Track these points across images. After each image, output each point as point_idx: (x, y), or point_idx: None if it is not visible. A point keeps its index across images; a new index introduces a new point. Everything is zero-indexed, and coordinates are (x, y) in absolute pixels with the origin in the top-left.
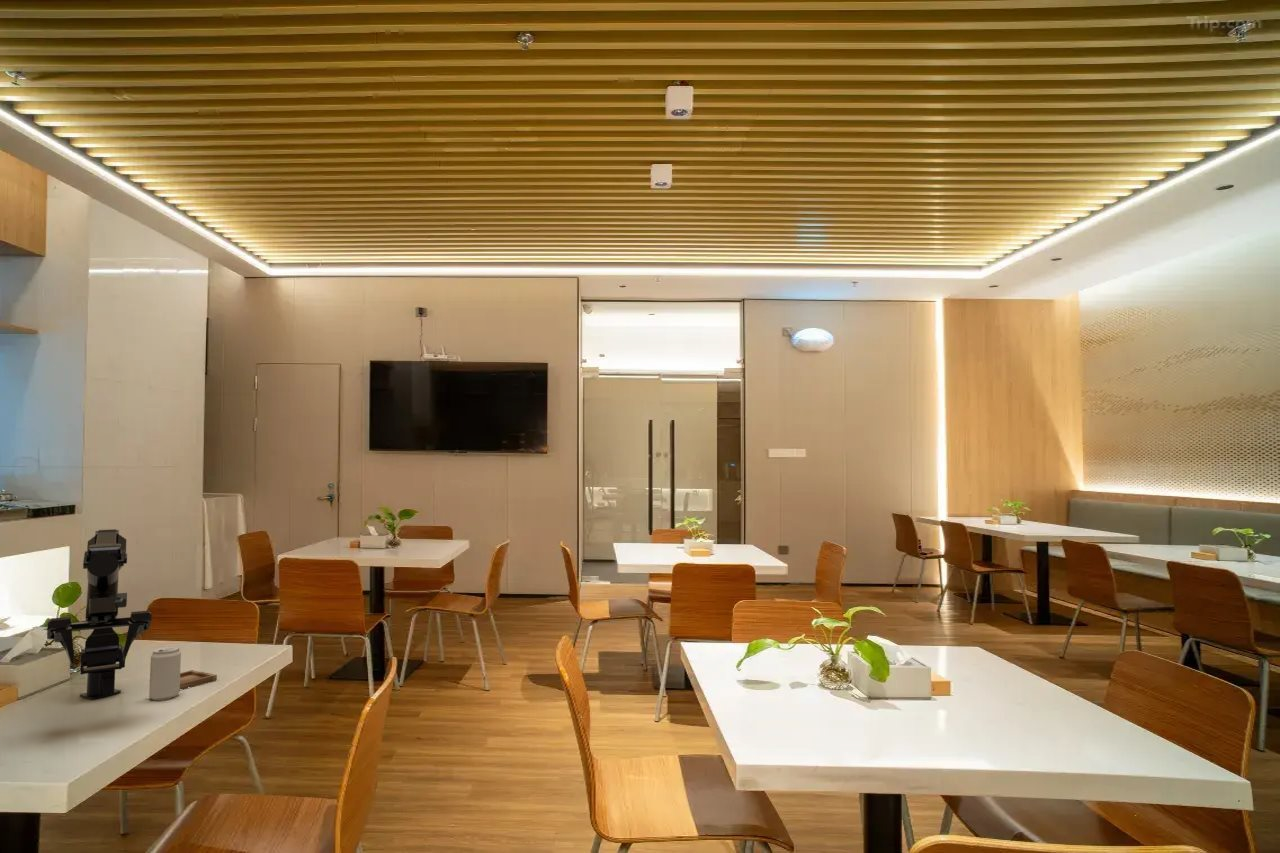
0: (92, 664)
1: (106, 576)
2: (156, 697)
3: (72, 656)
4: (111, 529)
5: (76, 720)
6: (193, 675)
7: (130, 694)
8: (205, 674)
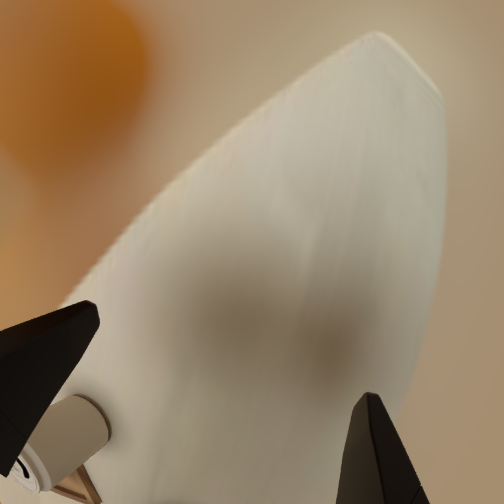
0: None
1: None
2: (98, 412)
3: (380, 425)
4: None
5: (265, 429)
6: None
7: (134, 495)
8: None
